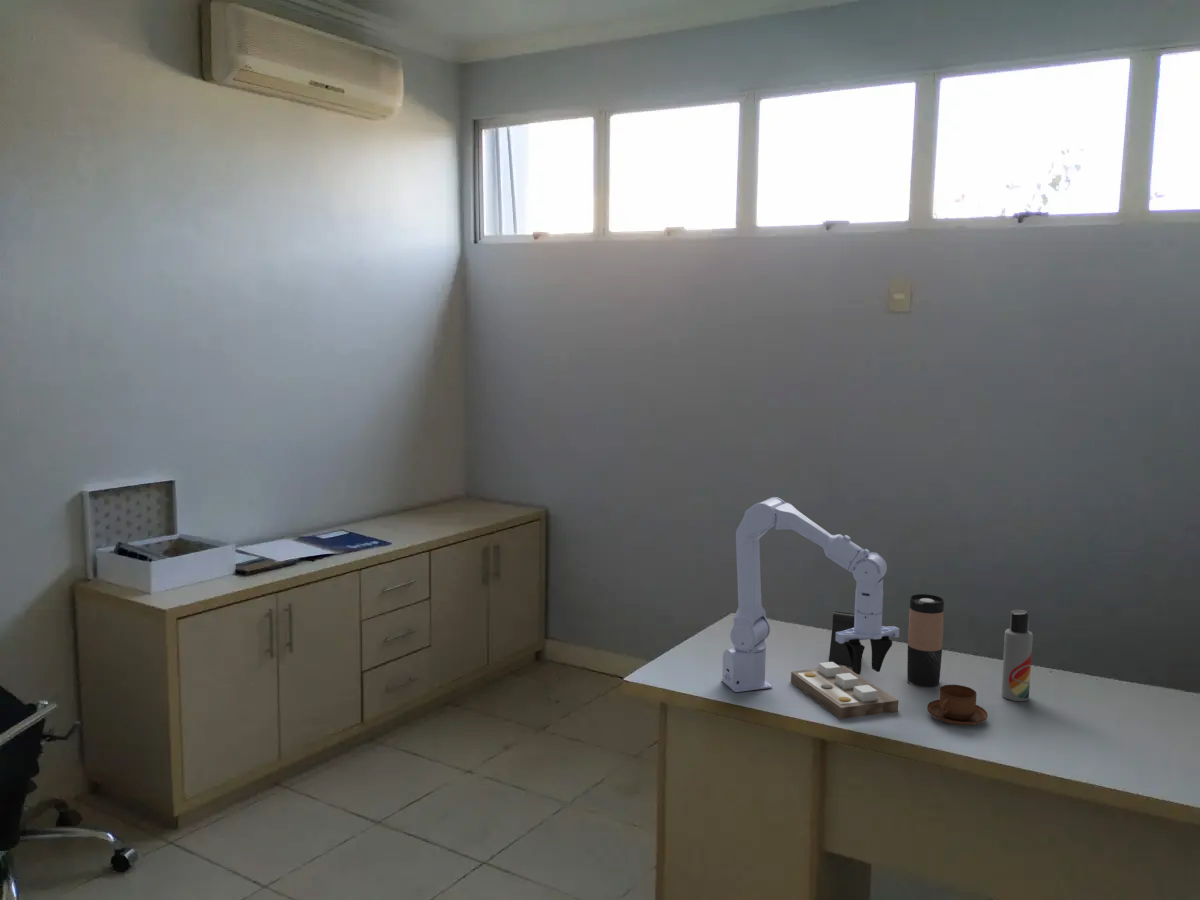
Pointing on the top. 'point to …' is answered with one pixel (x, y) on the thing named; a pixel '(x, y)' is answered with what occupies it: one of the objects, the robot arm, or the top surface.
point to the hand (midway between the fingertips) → (866, 671)
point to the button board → (842, 694)
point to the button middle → (846, 680)
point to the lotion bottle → (1017, 657)
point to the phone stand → (839, 650)
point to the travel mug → (925, 640)
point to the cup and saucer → (957, 706)
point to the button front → (865, 693)
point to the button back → (829, 669)
